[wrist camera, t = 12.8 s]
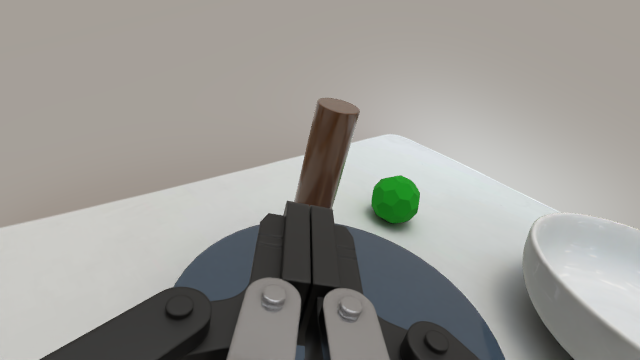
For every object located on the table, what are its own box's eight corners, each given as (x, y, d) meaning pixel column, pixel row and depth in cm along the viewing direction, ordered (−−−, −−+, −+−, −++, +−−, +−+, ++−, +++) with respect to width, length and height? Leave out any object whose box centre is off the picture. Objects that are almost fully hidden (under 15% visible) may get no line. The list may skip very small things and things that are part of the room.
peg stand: (584, 449, 22) (760, 279, 16) (192, 709, 12) (253, 512, 5) (381, 223, 39) (427, 96, 32) (143, 248, 28) (144, 67, 22)
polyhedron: (357, 215, 40) (370, 176, 37) (377, 199, 43) (390, 163, 41) (401, 238, 38) (417, 198, 35) (417, 220, 41) (433, 182, 39)
